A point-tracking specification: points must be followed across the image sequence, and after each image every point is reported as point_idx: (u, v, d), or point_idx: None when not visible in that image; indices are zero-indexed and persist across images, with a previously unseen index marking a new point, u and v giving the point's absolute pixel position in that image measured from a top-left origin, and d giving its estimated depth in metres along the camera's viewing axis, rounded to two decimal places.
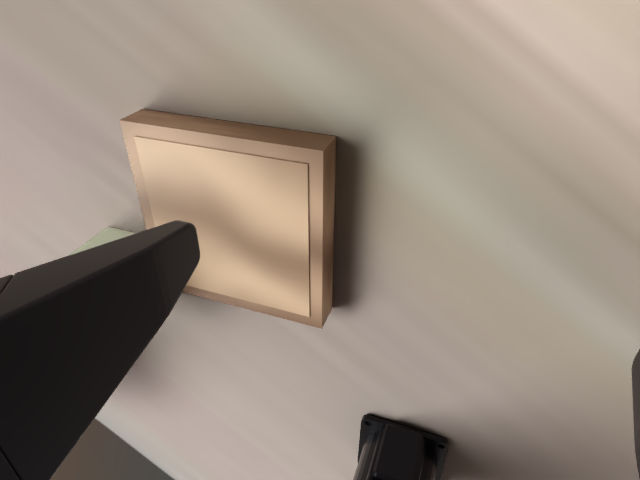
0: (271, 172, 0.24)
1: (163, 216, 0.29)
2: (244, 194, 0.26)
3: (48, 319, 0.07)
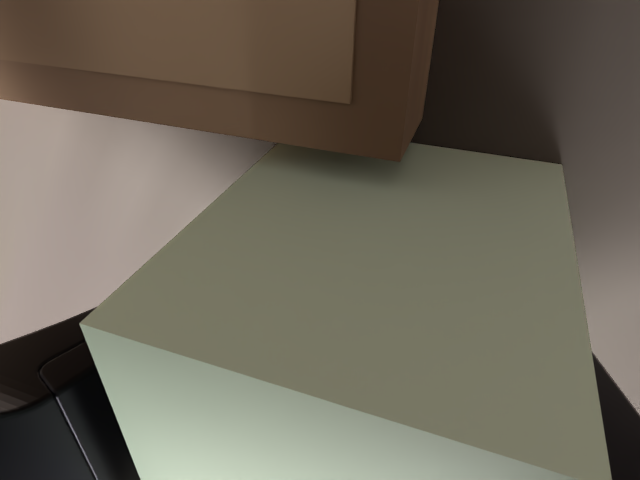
0: None
1: (42, 15, 0.08)
2: None
3: None
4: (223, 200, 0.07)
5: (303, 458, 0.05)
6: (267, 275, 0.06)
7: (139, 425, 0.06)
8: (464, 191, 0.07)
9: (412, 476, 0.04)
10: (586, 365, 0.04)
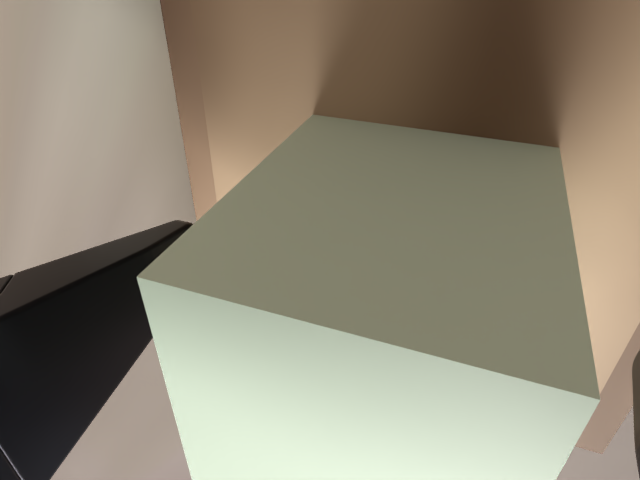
0: (233, 71, 0.10)
1: None
2: None
3: (48, 319, 0.07)
4: (252, 178, 0.08)
5: (332, 393, 0.05)
6: (296, 238, 0.06)
7: (182, 373, 0.06)
8: (470, 170, 0.08)
9: (429, 402, 0.05)
10: (579, 309, 0.05)
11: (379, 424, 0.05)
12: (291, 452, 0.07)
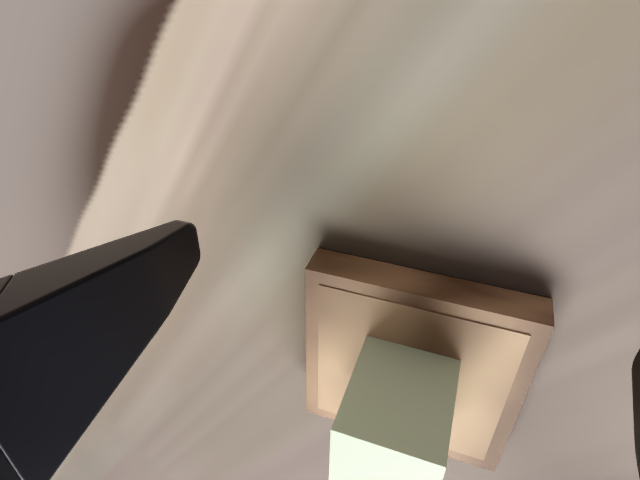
0: (333, 316, 0.25)
1: None
2: (360, 346, 0.26)
3: (48, 319, 0.07)
4: (351, 381, 0.23)
5: (384, 461, 0.20)
6: (371, 413, 0.21)
7: (337, 452, 0.21)
8: (426, 376, 0.23)
9: (409, 465, 0.20)
10: (448, 440, 0.20)
11: (396, 469, 0.20)
12: (369, 476, 0.21)
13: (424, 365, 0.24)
